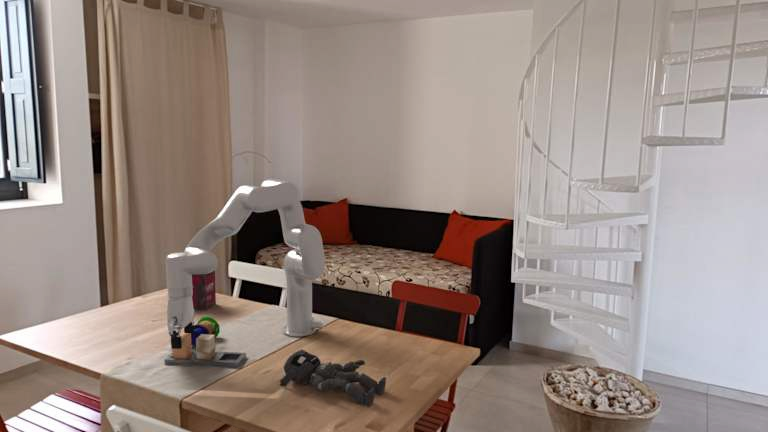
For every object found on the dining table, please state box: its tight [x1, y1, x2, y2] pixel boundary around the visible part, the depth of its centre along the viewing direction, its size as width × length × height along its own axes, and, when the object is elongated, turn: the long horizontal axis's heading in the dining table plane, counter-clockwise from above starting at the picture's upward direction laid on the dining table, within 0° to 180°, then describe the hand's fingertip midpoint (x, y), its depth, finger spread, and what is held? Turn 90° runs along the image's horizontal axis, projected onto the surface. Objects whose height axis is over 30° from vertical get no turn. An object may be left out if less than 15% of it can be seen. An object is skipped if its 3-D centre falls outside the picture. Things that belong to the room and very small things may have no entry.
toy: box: [191, 316, 221, 347], centre depth 195 cm, size 12×9×15 cm
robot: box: [279, 349, 387, 407], centre depth 163 cm, size 17×10×30 cm
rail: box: [164, 350, 247, 368], centre depth 179 cm, size 24×8×3 cm, turn 86°
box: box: [192, 269, 217, 311], centre depth 236 cm, size 16×9×20 cm, turn 81°
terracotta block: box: [171, 332, 192, 359], centre depth 179 cm, size 4×4×8 cm
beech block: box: [195, 334, 216, 360], centre depth 178 cm, size 4×4×8 cm
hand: (183, 342), depth 179 cm, fingers open, 9 cm apart
